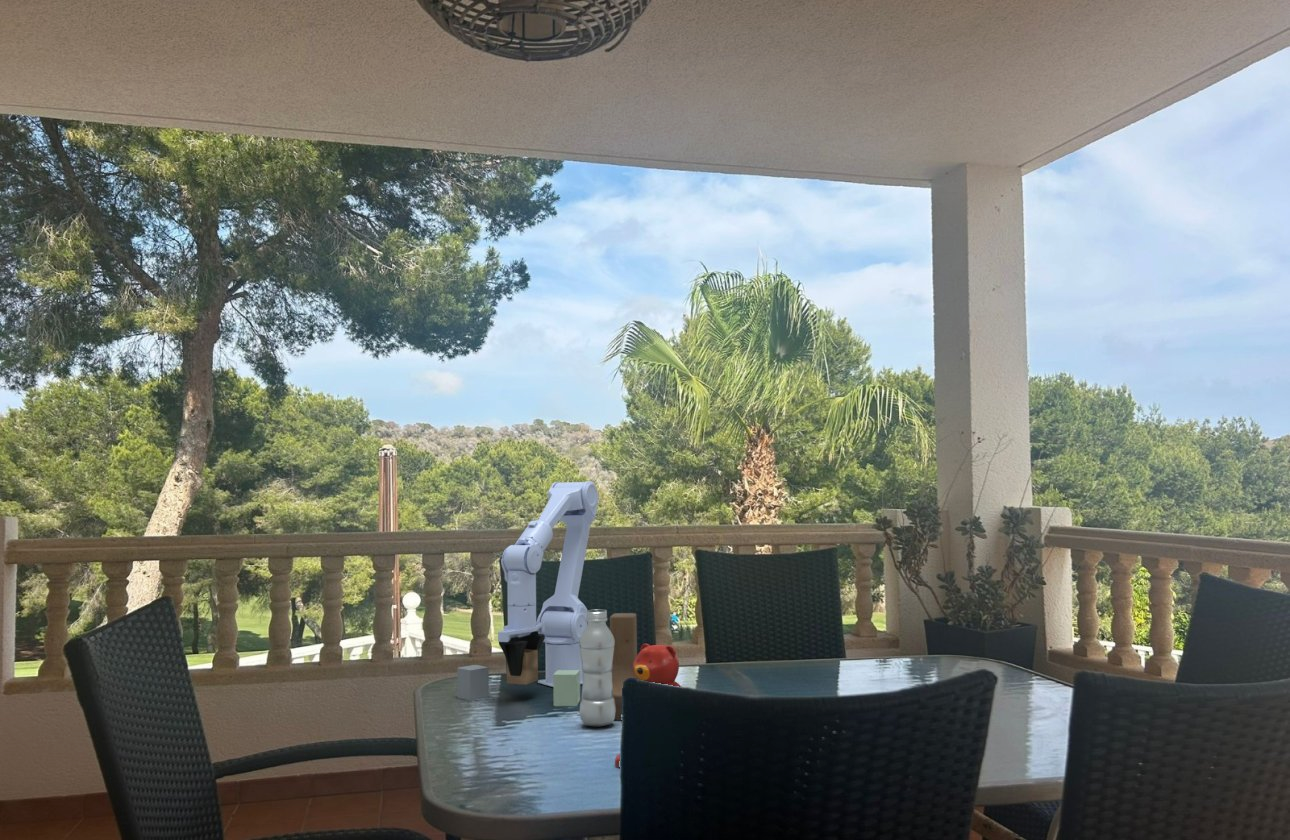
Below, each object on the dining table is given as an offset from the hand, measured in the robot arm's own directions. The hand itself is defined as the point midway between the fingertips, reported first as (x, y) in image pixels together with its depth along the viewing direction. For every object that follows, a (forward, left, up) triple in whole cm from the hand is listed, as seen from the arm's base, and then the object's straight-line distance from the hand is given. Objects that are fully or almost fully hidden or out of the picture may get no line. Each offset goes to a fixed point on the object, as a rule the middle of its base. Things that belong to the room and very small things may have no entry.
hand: (522, 673), depth 187 cm
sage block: (-5, +9, -5) cm, 11 cm away
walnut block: (0, 0, -2) cm, 2 cm away
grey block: (+7, -8, -5) cm, 12 cm away
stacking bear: (+6, +54, -5) cm, 55 cm away
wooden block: (-8, +24, -5) cm, 26 cm away
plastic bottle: (0, +28, -5) cm, 29 cm away
